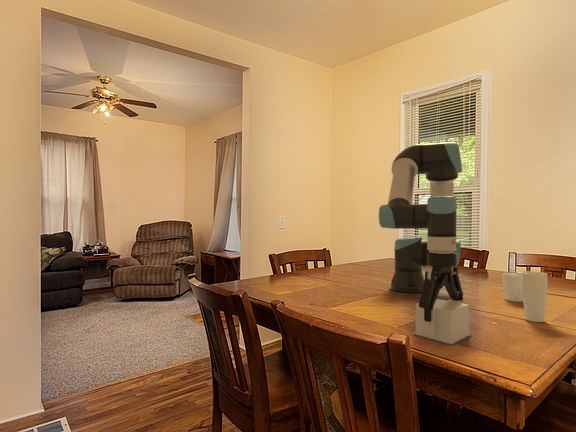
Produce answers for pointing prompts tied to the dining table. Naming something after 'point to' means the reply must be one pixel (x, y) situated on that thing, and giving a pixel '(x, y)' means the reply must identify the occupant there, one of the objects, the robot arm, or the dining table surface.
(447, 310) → the pale grey cube
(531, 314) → the drinking glass
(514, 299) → the white cup
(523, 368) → the dining table surface
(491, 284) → the dining table surface
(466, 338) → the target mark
